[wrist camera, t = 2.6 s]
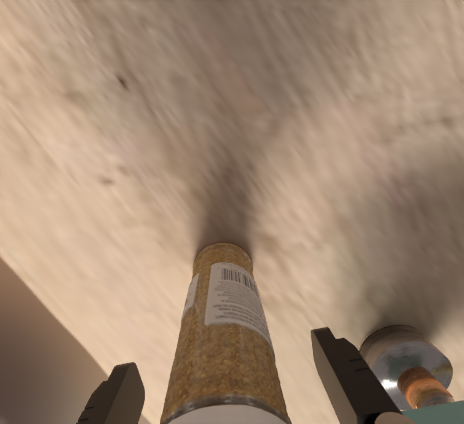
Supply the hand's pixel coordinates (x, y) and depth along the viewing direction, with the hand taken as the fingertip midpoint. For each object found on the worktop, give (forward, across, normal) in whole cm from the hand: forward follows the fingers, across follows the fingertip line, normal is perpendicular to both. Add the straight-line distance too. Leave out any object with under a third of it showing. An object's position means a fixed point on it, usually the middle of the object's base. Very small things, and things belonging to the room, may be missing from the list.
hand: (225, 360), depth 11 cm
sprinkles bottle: (+8, 0, 0) cm, 8 cm away
